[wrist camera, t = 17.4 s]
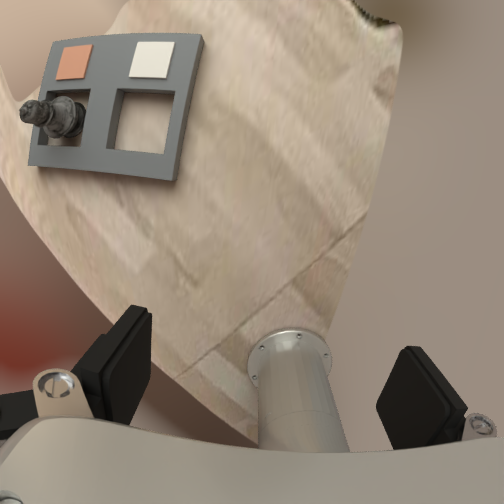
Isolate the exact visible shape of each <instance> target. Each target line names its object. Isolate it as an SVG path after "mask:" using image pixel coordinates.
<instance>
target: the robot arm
mask: <svg viewBox="0 0 504 504" xmlns="http://www.w3.org/2000/svg"><path fill="white" fill-rule="evenodd" d="M151 333H152V313H148V310H147V308H144V307H140V306H136V305H131V306H130V307H129V308H128V309H127V310H126V311H125V313H124V314H123V315H122V316H121V317H120V319H119V320H118V321H117V322H116V323H115V325H114V326H113V327H112V328H111V329H110V331H109V332H108V333H107V334H101V335H100V336H99V337H98V339H97V340H96V341H95V342H94V343H93V345H92V346H91V347H90V348H89V349H88V351H87V352H86V353H85V354H84V355H83V357H82V358H81V359H80V360H79V362H78V363H77V364H76V365H75V366H74V368H73V369H72V370H71V371H70V372H69V371H67V370H63V369H50V370H45V371H43V372H41V373H40V374H38V375H37V376H36V377H35V379H34V381H33V390H28V391H22V392H16V393H9V394H2V395H0V504H504V438H499V437H496V434H497V430H496V426H495V424H494V423H493V421H492V420H491V419H489V418H488V417H487V416H484V415H482V414H479V413H473V414H469V415H468V416H467V417H466V418H465V417H464V414H465V412H466V411H467V409H468V407H467V406H466V404H465V403H464V402H463V400H462V399H461V398H460V397H459V395H458V394H457V392H456V391H455V390H454V388H453V387H452V386H451V385H450V383H449V382H448V381H447V379H446V378H445V377H444V376H443V374H442V373H441V372H440V370H439V369H438V368H437V367H436V366H435V364H434V363H433V362H432V360H431V359H430V358H429V357H428V355H427V354H426V353H425V352H424V351H423V349H422V348H421V347H418V346H406V347H405V348H404V349H402V350H401V351H400V353H399V355H398V358H397V360H396V362H395V365H394V367H393V369H392V371H391V373H390V376H389V378H388V380H387V382H386V384H385V386H384V388H383V390H382V393H381V394H380V396H379V398H378V400H377V404H376V409H377V412H378V414H379V417H380V419H381V421H382V424H383V426H384V428H385V431H386V433H387V435H388V438H389V440H390V442H391V445H392V447H393V449H394V450H387V451H371V452H350V450H349V447H348V443H347V440H346V437H345V434H344V431H343V427H342V424H341V420H340V417H339V413H338V410H337V407H336V404H335V400H334V397H333V394H332V391H331V387H330V384H329V381H328V378H327V377H328V375H329V373H330V370H331V367H332V356H331V352H330V350H329V347H328V345H327V344H326V342H325V341H324V340H323V339H322V338H321V337H320V336H319V335H317V334H315V333H314V332H311V331H309V330H306V329H300V328H286V329H280V330H277V331H274V332H271V333H269V334H268V335H266V336H264V337H263V338H261V339H260V340H259V341H258V342H257V343H256V344H255V345H254V347H253V348H252V350H251V351H250V354H249V357H248V363H247V370H248V375H249V378H250V380H251V381H252V383H253V384H254V385H255V386H256V388H258V449H255V448H245V447H237V446H230V445H222V444H216V443H210V442H203V441H198V440H193V439H187V438H182V437H178V436H173V435H168V434H164V433H159V432H154V431H150V430H146V429H141V428H137V427H133V426H129V424H130V422H131V420H132V418H133V416H134V414H135V411H136V409H137V407H138V405H139V402H140V400H141V398H142V396H143V394H144V391H145V389H146V387H147V385H148V382H149V380H150V374H151ZM261 345H263V346H261Z"/></svg>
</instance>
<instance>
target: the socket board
mask: <svg viewBox="0 0 504 504" xmlns="http://www.w3.org/2000/svg"><path fill="white" fill-rule="evenodd" d="M203 45H204V40H203V37H202V35H201V34H186V33H131V34H113V35H101V36H91V37H82V38H75V39H68V40H61V41H55V42H53V44H52V47H51V51H50V54H49V57H48V61H47V64H46V68H45V72H44V76H43V80H42V84H41V88H40V92H39V97H38V101H40V102H41V101H43V100H49V101H50V102H52V101H53V100H54V99H55V97H56V93H76V92H90V96H89V101H88V106H87V111H86V116H85V121H84V127H83V133H82V140H81V146H80V147H71V146H48V145H47V142H48V135H47V134H46V133H45V131H44V128H43V127H42V128H38V127H36V126H35V125H34V124H33V130H32V136H31V143H30V151H29V160H28V166H41V167H54V168H66V169H77V170H87V171H97V172H106V173H115V174H124V175H132V176H140V177H148V178H156V179H163V180H170V181H173V180H177V176H178V169H179V163H180V157H181V151H182V145H183V139H184V134H185V128H186V123H187V118H188V112H189V107H190V102H191V98H192V93H193V88H194V83H195V79H196V74H197V70H198V66H199V61H200V57H201V53H202V49H203ZM124 92H138V93H159V94H173V95H175V97H174V101H173V106H172V111H171V116H170V122H169V127H168V133H167V138H166V144H165V150H164V154H155V153H146V152H136V151H126V150H115V149H114V145H115V139H116V133H117V127H118V122H119V116H120V111H121V106H122V101H123V96H124Z"/></svg>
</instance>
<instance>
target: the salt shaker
mask: <svg viewBox="0 0 504 504" xmlns="http://www.w3.org/2000/svg"><path fill="white" fill-rule="evenodd" d="M19 111H20V118H21V120H22V121H23V122H25V123H30V124H34V125H35V126H36V127H38V128H42V127H43V128H44V131H45V133H46V134H47V135H48V136H49V137H51V138H60V137H63V136H64V137H67V138H71V137H74V136H76V135H78V134H79V133H80V132H81V131H82V130H83V127H84V121H85V116H86V109H85V107H84V106H83V105H82V104H81V103H79V102H73V100H72V99H71V98H69V97H67V96H60V97H57V98H55V99H54V100H53V101H52V102H50V101H49V100H43V101H41V102H40V101H36V100H28V101H27V102H25V103H24V104H23V106H22V107H21V108H20V110H19Z"/></svg>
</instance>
